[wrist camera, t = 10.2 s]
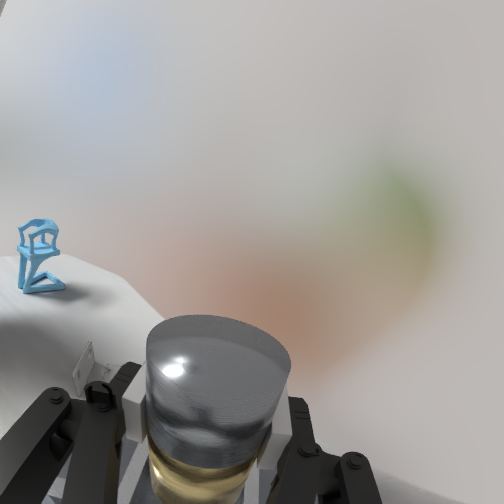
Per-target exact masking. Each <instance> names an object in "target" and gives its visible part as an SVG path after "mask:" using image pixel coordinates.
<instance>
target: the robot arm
mask: <svg viewBox="0 0 504 504" xmlns="http://www.w3.org/2000/svg"><path fill="white" fill-rule="evenodd" d="M5 3H6V0H0V16H1V13H2V10H3V8H4V5H5ZM84 389H85V394H86V399H87V401H84V400H77V399H72V398H70V396H69V394H68V393H67V391H65V390H64V389H62V388H59V387H51V388H48V389H46V390H45V391H44V392H43V393H42V394H41V395H40V396H39V397H38V398H37V399H36V400H35V401H34V403H33V404H32V405H31V406H30V407H29V408H28V409H27V410H26V411H25V412H24V414H23V415H22V416H21V417H20V418H19V419H18V420H17V421H16V423H15V424H14V425H13V426H12V427H11V428H10V429H9V431H8V432H7V433H6V434H5V435H4V436H3V438H2V439H1V440H0V504H41V503H42V501H43V500H44V498H45V496H46V494H47V493H48V491H49V489H50V488H51V486H52V484H53V483H54V481H55V479H56V478H57V476H58V474H59V473H60V471H61V469H62V468H63V466H64V464H65V463H66V461H67V460H68V458H69V456H70V455H71V453H72V455H71V459H70V464H69V468H68V472H67V477H66V481H65V486H64V491H63V496H62V502H61V504H117V499H118V485H119V473H120V463H121V454H122V446H123V443H122V437H123V436H124V434H125V432H126V438H128V439H130V440H133V441H136V442H139V443H142V444H143V442H144V439H145V437H146V435H147V422H146V361H145V362H144V364H143V365H139V364H136V363H133V362H128V363H126V364H124V365H122V366H121V368H120V369H119V370H118V372H117V373H116V374H115V376H114V378H112V380H111V381H110V382H109V383H106V382H103V381H94V382H91V383H89V384H87V385H86V387H85V388H84ZM72 451H73V452H72ZM276 465H277V474H276V476H275V477H274V479H273V481H272V482H271V484H270V485H271V489H270V492H269V495H268V498H267V501H266V504H315V499H316V494H317V497H318V504H382V501H381V498H380V494H379V491H378V488H377V485H376V482H375V479H374V476H373V472H372V469H371V466H370V463H369V461H368V459H367V458H366V457H365V456H364V455H363V454H360V453H358V452H347V453H345V454H344V455H342V457H339V456H335V455H331V454H328V453H325V452H324V451H322V449H321V447H320V446H319V445H318V444H317V443H315V439H314V434H313V429H312V424H311V420H310V414H309V409H308V405H307V404H306V402H305V401H304V399H303V398H297V397H288V393H287V385H286V384H285V387H284V389H283V392H282V395H281V398H280V400H279V403H278V406H277V408H276V411H275V413H274V416H273V419H272V421H271V424H270V426H269V429H268V431H267V434H266V436H265V439H264V441H263V443H262V446H261V448H260V451H259V453H258V455H257V469H263V470H274V469H275V467H276Z"/></svg>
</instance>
